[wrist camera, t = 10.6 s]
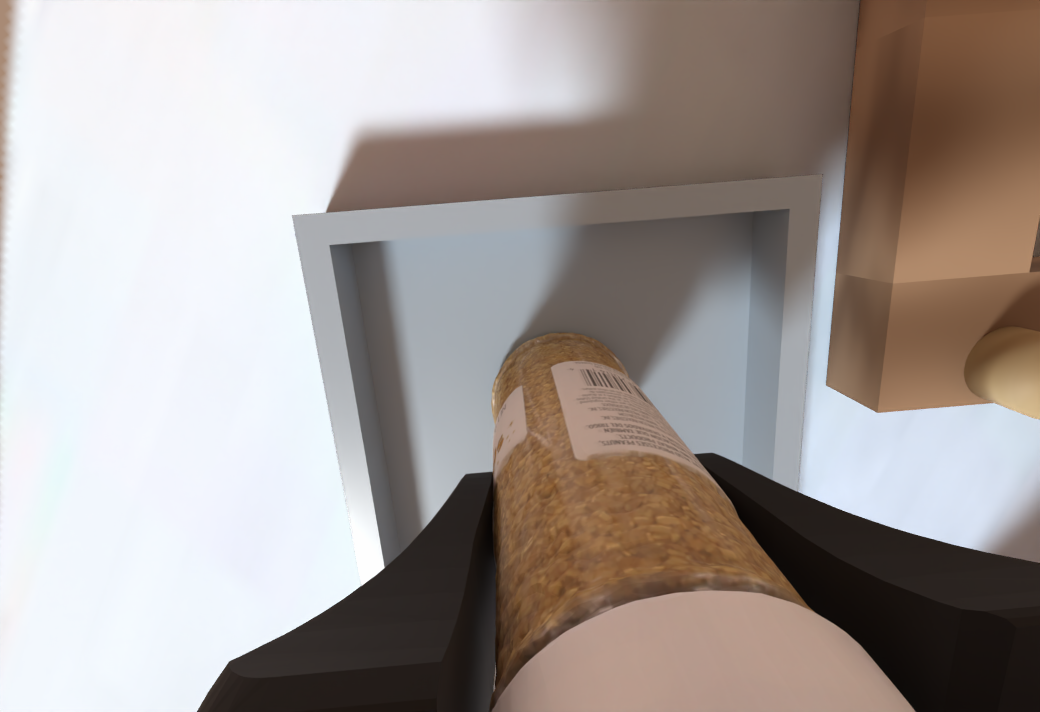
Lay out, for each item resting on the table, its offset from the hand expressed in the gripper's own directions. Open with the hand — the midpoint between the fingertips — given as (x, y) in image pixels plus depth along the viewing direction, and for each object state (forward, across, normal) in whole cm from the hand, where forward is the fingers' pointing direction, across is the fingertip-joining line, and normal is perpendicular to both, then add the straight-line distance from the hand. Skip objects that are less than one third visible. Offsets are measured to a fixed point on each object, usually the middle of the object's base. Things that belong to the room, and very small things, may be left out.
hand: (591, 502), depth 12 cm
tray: (+6, 0, 0) cm, 6 cm away
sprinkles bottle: (+6, 0, 0) cm, 6 cm away
